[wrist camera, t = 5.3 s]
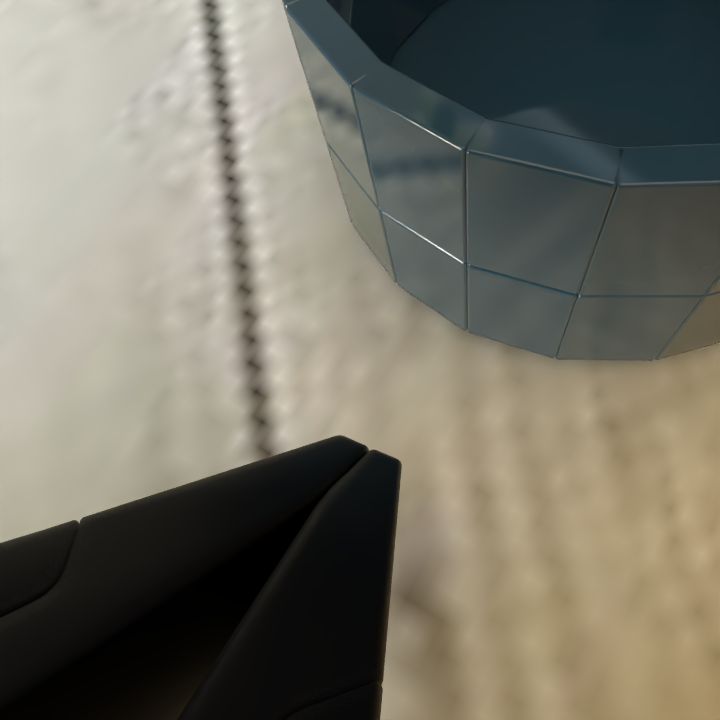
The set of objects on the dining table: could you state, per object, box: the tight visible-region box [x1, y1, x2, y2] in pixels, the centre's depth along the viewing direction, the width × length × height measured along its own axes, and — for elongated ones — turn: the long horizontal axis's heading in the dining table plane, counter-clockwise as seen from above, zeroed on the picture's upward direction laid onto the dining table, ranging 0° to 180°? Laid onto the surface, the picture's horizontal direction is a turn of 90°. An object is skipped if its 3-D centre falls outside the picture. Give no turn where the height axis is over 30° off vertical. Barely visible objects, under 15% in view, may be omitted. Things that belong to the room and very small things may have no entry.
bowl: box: [282, 0, 720, 361], centre depth 15 cm, size 14×14×8 cm
